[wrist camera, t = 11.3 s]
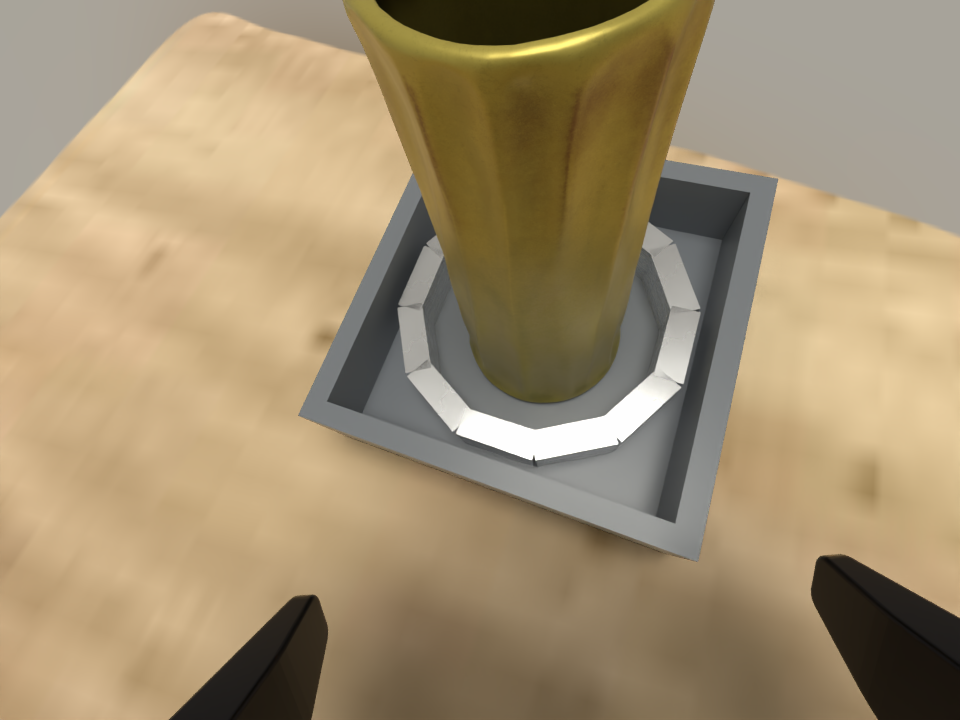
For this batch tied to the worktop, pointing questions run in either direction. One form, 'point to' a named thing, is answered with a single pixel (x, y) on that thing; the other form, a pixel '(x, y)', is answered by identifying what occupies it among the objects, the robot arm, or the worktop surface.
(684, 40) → the vase
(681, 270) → the collar
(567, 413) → the tray
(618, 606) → the worktop surface
